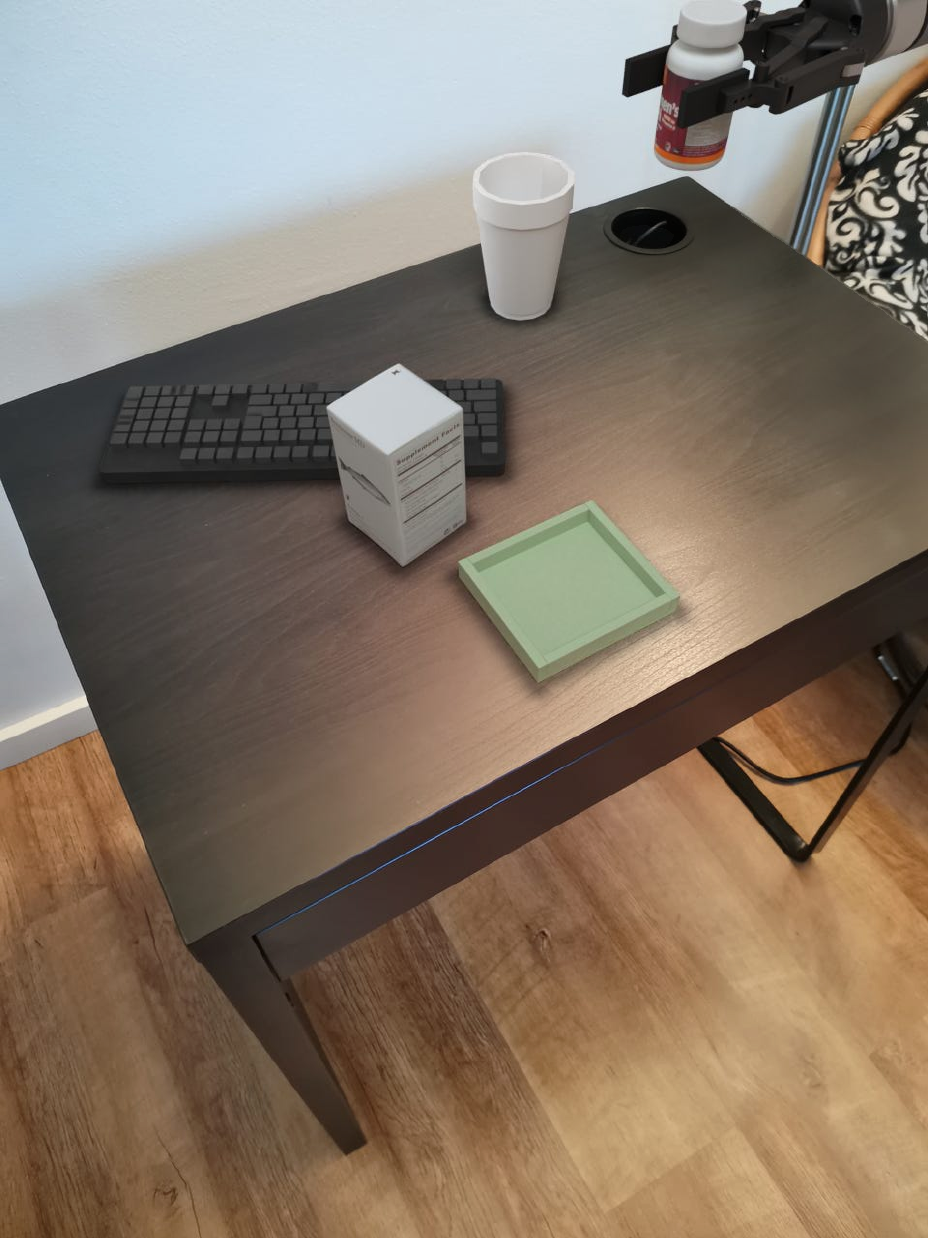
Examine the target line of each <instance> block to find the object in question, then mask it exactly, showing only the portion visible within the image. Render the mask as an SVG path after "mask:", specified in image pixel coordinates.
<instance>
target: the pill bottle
mask: <svg viewBox="0 0 928 1238" xmlns="http://www.w3.org/2000/svg"><path fill="white" fill-rule="evenodd" d="M746 17H747V10H746V8H745V7H744V6H743V4H741V3H739V2H737V1H735V0H689V1H687V2H686V3H684V4H683V5H682V6H681V8H680V11H679V17H678V23H677V24H678V27H677V36H678V38H679V39H678V40H677V41H676V42H674V43H673V45H672V46H671V47H670V49H669V51H668V54H667V59H666V65H665V72H664V78H663V85H662V86H661V93H660V101H659V106H658V114H657V124H656V128H655V135H654V136H655V137H654V146H653V153H654V156H655V158H656V159H657V161H659V163H661V164H662V165H663V166H665V167H667V168H669V169H673V170H677V171H683V172H699V171H700V172H701V171H706V170H708V169H711V168H714V167H715V166H716V165H718V164H720V162H721V161H722V159H723V158H724V155H725V152H726V149H727V143H728V140H729V134H730V130H731V125H732V119H733V116H734V112H731V113H725V114H722V115H719V116H717V117H714V118H711V119H709V120H706V121H703V122H701V123H698V124H695V125H693V126H690V127H687V128H685V129H681V128H679V127H677V126H676V122H677V116H678V110H679V103H680V97H681V90H682V89H685V88H688V87H690V86H693V85H696V84H699V83H702V82H704V81H707V80H710V79H713V78H716V77H718V76H721V75H724V74H727V73H729V72H732V71H735V70H738V69H741V68H743V66H744V61H743V60H744V54H743V50H742V48H741V46H740V45H739V44H738V42H740V41H741V40H742V38H743V34H744V27H745V22H746Z"/></svg>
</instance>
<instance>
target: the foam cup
mask: <svg viewBox="0 0 928 1238" xmlns="http://www.w3.org/2000/svg"><path fill="white" fill-rule="evenodd" d="M574 195H575V170H574V169H572V168H571V166H570V165H568V163H567V162H566V161H565V160H562V159H560V158H558V157H555V156H552V155H550V154H547V153H540V152H531V151H519V152H510V153H503V154H500V155H498V156H495V157H492V158H489V159H487V160H485V161H484V162H482V163H481V164H480V165H479V166H478V167H477V168H476V169H475V170H473V177H472V209H474V211H475V214H476V220H477V221H476V222H477V228H478V233H479V238H480V239H479V240H480V245H481V254H482V259H483V265H484V273H485V278H486V286H487V291H488V297H489V301H490V306H491V308H492V309H493V311H494V312H495V313H496V315H499V316H500V317H503V318H504V319H508V320H515V321H527V320H534V319H536V318H538V317H541V316H543V315H545V314H546V313H547V312H548V310H549V309H550V308H551V306H552V302H553V298H554V294H555V289H556V288H555V287H556V284H557V277H558V272H559V270H560V269H559V268H560V263H561V258H562V253H563V249H564V244H565V239H566V233H567V228H568V224H569V218H570V214H571V212H572V210H573V209H574Z"/></svg>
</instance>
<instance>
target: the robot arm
mask: <svg viewBox="0 0 928 1238" xmlns="http://www.w3.org/2000/svg"><path fill="white" fill-rule="evenodd" d="M742 5H743V6H744V7H745V8H746V10H747V17H746V22H745V27H744V34H743V38H742V40H741V41H740V42H738V44H739V45H740V46H741V48H742V50H743V54H744V60H743V62H748V61H749V62H750V63H751V64H753V65H754V69H753V72H752V73H753V74H752V77H751V78H750V76H751V70H750V69H749V68H746V67H742V68H741V69H738V70H735V71H732V72H729V73H727V74H724V75H721V76H718V77H716V78H713V79H710V80H707V81H704V82H702V83H699V84H696V85H693V86H690V87H688V88H685V89H682V90H681V97H680V103H679V110H678V116H677V122H676V126H677V127H679V128H681V129H685V128H687V127H690V126H693V125H695V124H698V123H701V122H703V121H706V120H709V119H711V118H714V117H717V116H719V115H722V114H725V113H731V112H733V113H734V112H736V111H740V110H742V109H745V108H747V107H748V108H751V109H760V108H761V107H763V106H767V107H768V113H770V114H771V115H775V116H777V115H782V114H784V113H786V112H788V111H791V110H794V109H795V108H797V107H799V106H802V105H804V104H806V103H808V102H810V101H813V100H814V99H817V98H819V97H821V96H823V95H826V94H828V93H830V92H832V91H834V90H837V89H841V88H846V87H850V86H856V85H859V84H860V81H861V76H862V73H863V70H864V68H867V67H868V66H872V65H874V64H876V63H878V62H881V61H885V60H886V59H889V58H891V57H894V56H898V55H901V54H903V53H907V52H909V51H911V50H916V49H917V48H920V47H923V46H926V45H928V0H802V1H801V2H800V3H799V4H798V5H797V6H795V7H788V8H785V9H780V10H778V11H776V12H775V13H765V12H762V11H761V9H762V1H761V0H748V1H747V2H745V3H743V4H742ZM677 27H678V23H677V24H674V25H672V29H671V34H670V35H671V36H670V43H669V44H666V45H664V46H660V47H657V48H654V49H652V50H648V51H646V52H643V53H640V54H637V55H634V56H631V57H628V58H626V59H625V60H624V70H623V80H622V89H621V95H622V96H624V97H625V98H632V97H633V96H637V95H640V94H642V93H645V92H648V91H651V90H654V89H656V88H659V87H662V86H663V78H664V72H665V65H666V59H667V54H668V51H669V49H670V47H671V46H672V45H673V43H674V42H676V41H677V40H678V39H679V38H678V36H677Z"/></svg>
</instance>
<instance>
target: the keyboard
mask: <svg viewBox="0 0 928 1238" xmlns="http://www.w3.org/2000/svg"><path fill="white" fill-rule="evenodd" d="M423 380H424V381H425V382H427V383H428V384H430V385H431V386H432V387H434V388H435V389H436V390H438V391H439V392H441V393H442V394H444V395H445V396H447V397H448V398H449V399H451V400H452V401H454V402H455V403H457V404H458V405H460V406H461V407H462V408H463V434H464V463H465V478H469V477H470V478H471V477H472V478H474V477H500V476H503V475H504V474H505V472H506V442H505V414H504V413H505V409H504V384H503V381H502V380H501V379H497V378H495V377H487V378H485V377H484V378H481V379H479V378H463V379H461V378H447V379H446V380H445V379H441V378H439V379H437V378H436V379H423ZM367 381H368V380H352V381H351V380H349V381H345V380H344V381H308V382H304V383H302V382H287V383H284V382H271V383H267V382H264V383H262V382H261V383H253V384H249V383H234V384H230V383H221V384H219V383H218V384H216V385H215V384H200V385H196V384H179V385H176V384H175V385H174V384H173V385H163V386H161V385H147V386H144V385H135V386H134V385H130V386H129V388H128V389H127V390H126V392H125V393H124V396H123V399H122V401H121V406H120V408H119V411H118V414H117V416H116V419H115V422H114V425H113V428H112V430H111V432H110V433H111V434H110V436H109V439H108V442H107V445H106V447H105V450H104V453H103V456H102V459H101V462H100V465H99V469H98V470H99V472H100V474H101V476H102V478H103V480H104V482H105V483H107V484H110V485H111V484H112V485H113V484H155V483H156V484H157V483H158V484H162V483H163V484H164V483H165V484H166V483H214V482H261V481H263V482H264V481H266V482H268V481H315V480H317V481H318V480H319V481H320V480H341V479H340V474H339V469H338V464H337V458H336V454H335V448H334V443H333V438H332V433H331V428H330V423H329V418H328V413H327V409H326V408H327V406H328V405H330V404H331V403H333V402H334V401H336V400H337V399H339V398H341V397H343V396H344V395H346V394H348V393H349V392H351V391H352V390H354V389H356V388H357V387H359V386H361V385H363V384H364V383H366V382H367Z"/></svg>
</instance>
